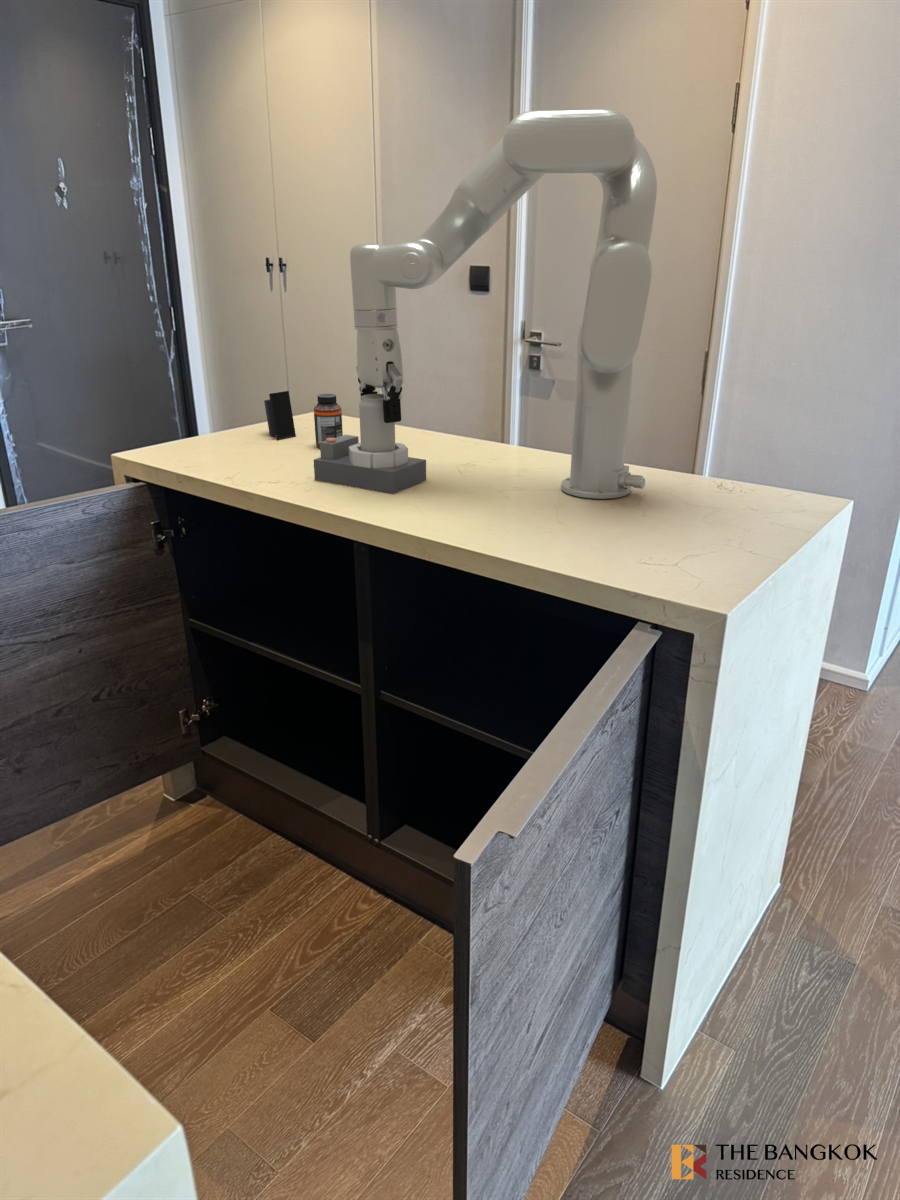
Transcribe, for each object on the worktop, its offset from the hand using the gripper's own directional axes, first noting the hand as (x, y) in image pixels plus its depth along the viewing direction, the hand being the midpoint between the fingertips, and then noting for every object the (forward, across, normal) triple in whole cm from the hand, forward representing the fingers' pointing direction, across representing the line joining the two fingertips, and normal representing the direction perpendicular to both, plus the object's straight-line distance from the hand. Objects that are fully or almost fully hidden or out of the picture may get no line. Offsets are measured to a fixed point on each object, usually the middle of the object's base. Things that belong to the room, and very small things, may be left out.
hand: (381, 417), depth 157 cm
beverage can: (+8, 0, +1) cm, 8 cm away
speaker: (+11, +48, +4) cm, 50 cm away
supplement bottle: (+12, +32, -2) cm, 34 cm away
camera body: (+12, +2, +2) cm, 12 cm away
